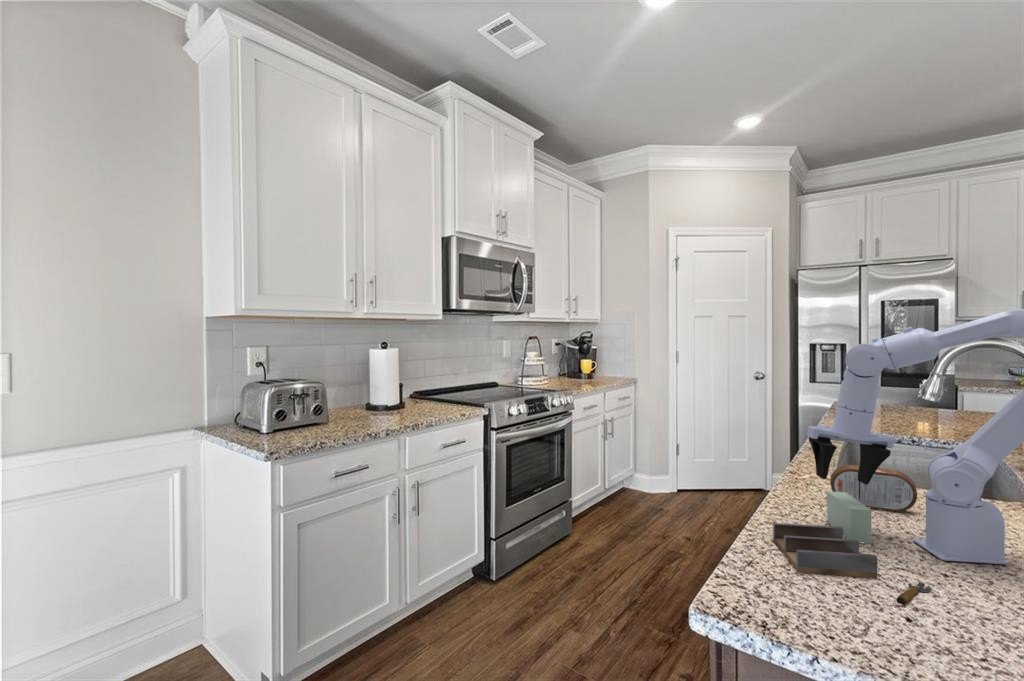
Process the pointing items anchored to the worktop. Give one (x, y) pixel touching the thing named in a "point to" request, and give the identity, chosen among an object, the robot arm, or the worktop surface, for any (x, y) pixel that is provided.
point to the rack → (823, 550)
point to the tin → (876, 488)
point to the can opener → (912, 593)
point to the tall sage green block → (849, 516)
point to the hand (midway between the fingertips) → (841, 479)
